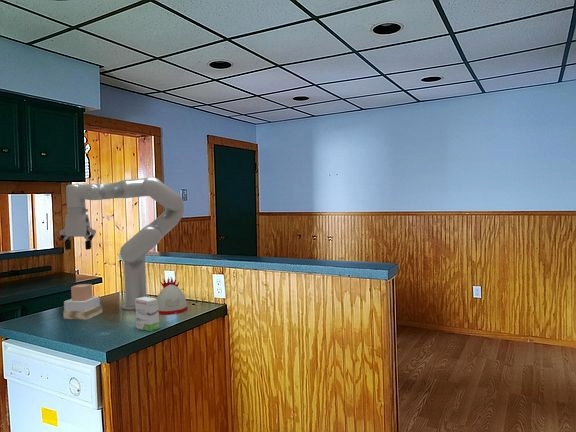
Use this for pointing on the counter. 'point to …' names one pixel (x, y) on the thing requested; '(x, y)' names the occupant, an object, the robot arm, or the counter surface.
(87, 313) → the maple base slab
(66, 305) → the grey top slab
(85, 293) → the terracotta cube
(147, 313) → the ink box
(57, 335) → the counter surface
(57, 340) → the counter surface
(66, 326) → the counter surface
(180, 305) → the white dome with spikes
